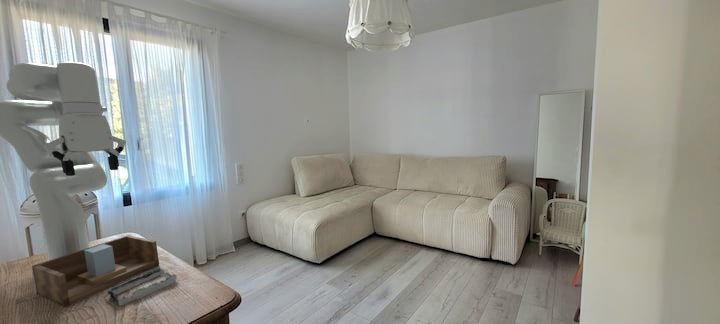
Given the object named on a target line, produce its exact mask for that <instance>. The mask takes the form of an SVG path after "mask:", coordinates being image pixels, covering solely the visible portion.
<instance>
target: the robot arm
mask: <svg viewBox="0 0 720 324" xmlns="http://www.w3.org/2000/svg"><path fill="white" fill-rule="evenodd" d="M8 78H9V79H8V80H7V82H6V89H7V90H8V92H9V94H11V95H12V96H14V97H15V98H17V99H9V100H8V99H6V100H0V137H1V138H2V139H3V140H5V141H6V142H7V143H9V144H10V145H11V146H12V147H13V148H14V150H15V153H16V154H17V155H18V156H19V158H20V160H21V161H22V163H23V165H24V166H25V168H26V169H27V170H28V171H30V172H31V173H32V174H31V175H30V177H29V185H30V186H29V187H30V188H31V190H32V193H33V195H34V198H35V200H36V202H37V206H38V210H39V214H40V215H39V216H40V221H41V224H42V230H43V234H44V235H43V236H44V243H45V246H46V252H47V258H48V261H49V260H52V259H55V258H58V257H61V256H64V255H68V254H71V253H74V252H77V251H80V250H83V249H87V248H90V243H89V237H88V230H87V225H86V218H85V217H86V216H85V211H84V208H83V206H82V204H81V203H80V202H78V201H76V200H75V199H73V198H72V196H76V195H79V194H85V193H91V192H96V191H100V190H102V189H104V188H105V187H106V186H107V183H108V177H107V174H106V172H105V170H104V169H103V167H102V165H101V163H100V162H99V161H98V160H97V158H96V157H95V155H94V154H93V153H92V152H104V153H106V154H107V155H109V156H108V157H107V161H108V166H109V170H110V171H118V170H119V167H120V163H119V156H120V155H121V153H122V152H123V151H124V149H125V146H126V144H127V141H126V140H125V139H122V138H119V137H116V136H114V135H113V133H112V130H111V126H110V124H109V121H108V119H107V117H106V115H104V114H103V113H104V112H105V113H107V112H108V108H107V107H106V106H103V105H102V104H101V98H100V91H99V87H98V86H99V85H98V80H97V74H96V70H95V68H94V67H93V66H91V65H89V64H87V63H84V62H83V63H82V62H75V61H74V62H73V61H64V62H63V61H62V62H59V63H57V64H56V65H49V64H41V63H36V62H35V63H33V62H22V63H16V64H14V65H12V66H11V68H10V69H9V75H8ZM18 99H19V100H18ZM35 126H37V127H39V126H43V127H45V126H58V136H59V137H58V138H56V139H54V140H52V141H51V139H50V137H49V136H48V135H47V134H45V133H43V132H42V131H40V130H38V129H35V128H34V127H35ZM114 143H116V144H117V147H115V148H114V146H115V144H114Z"/></svg>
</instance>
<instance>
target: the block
mask: <svg viewBox="0 0 720 324" xmlns="http://www.w3.org/2000/svg"><path fill="white" fill-rule="evenodd" d="M101 244H102V243H101ZM98 245H99V244H98ZM95 246H96V245H95ZM92 247H93V246H92ZM89 248H90V247H89ZM84 252H85V258H86V264H87V270H88V274H91V275H93V276H96V277H97V276H99V275H102V274H104V273H107V272H109V271H112V270H114V269H116V267H115V260H114V254H113V247H112V246H110V245H106V244H102V245H99V246H96V247H93V248H90V249H87V250H84Z"/></svg>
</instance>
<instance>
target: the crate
mask: <svg viewBox="0 0 720 324" xmlns="http://www.w3.org/2000/svg"><path fill="white" fill-rule="evenodd" d="M102 244H106V245H110V246H112V247H113V254H114V260H115V267H116V269H114V270H112V271H109V272H107V273H104V274H102V275H99V276H97V277H96V276H93V275H91V274H88V270H87V264H86V258H85V252H84V250H87V249H90V248H93V247H96V246H99V245H102ZM157 244H158V243H157V241H156V240H153V239H147V238H142V237H139V236H133V235H130V234H128V235H125V236H122V237H118V238H115V239H112V240H109V241H106V242H103V243H100V244H96V245H94V246H89V248H87V249H83V250H80V251H77V252H74V253H71V254H68V255H64V256H61V257H58V258H55V259H52V260H49V259H48V260H45V261H44V262H43V261H42V262H39V263H36V264H33V265H31V268H32V269H31V270H32V275H33V280H34V286H35V290H36V291H35V292H36V294H37V295H38V296H40V297H42V298H44V299H46V300H49V301H50V302H53V303H55V304H57V305H59V306H61V307H63V308H65V307H68V306H71V305H73V304H76V303H77V302H80V301H82V300H84V299H85V300H86V298H87V299H88V298H89V297H91V296H93V295H96V294H98V293H100V292H102V291H105V290H108V289H110V288H112V287H114V286H117V285H118V284H119V285H120V284H122V283H124V282H126V281H128V280H130V279H133V278H134V277H138V275H139V276H140V275H141V274H145V272H146V273H147V272H149V271H151V270H152V269H153V270H154V269H156V267H157V268H158V267H160V261H159V259H160V258H159V253H158V246H157Z"/></svg>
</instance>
